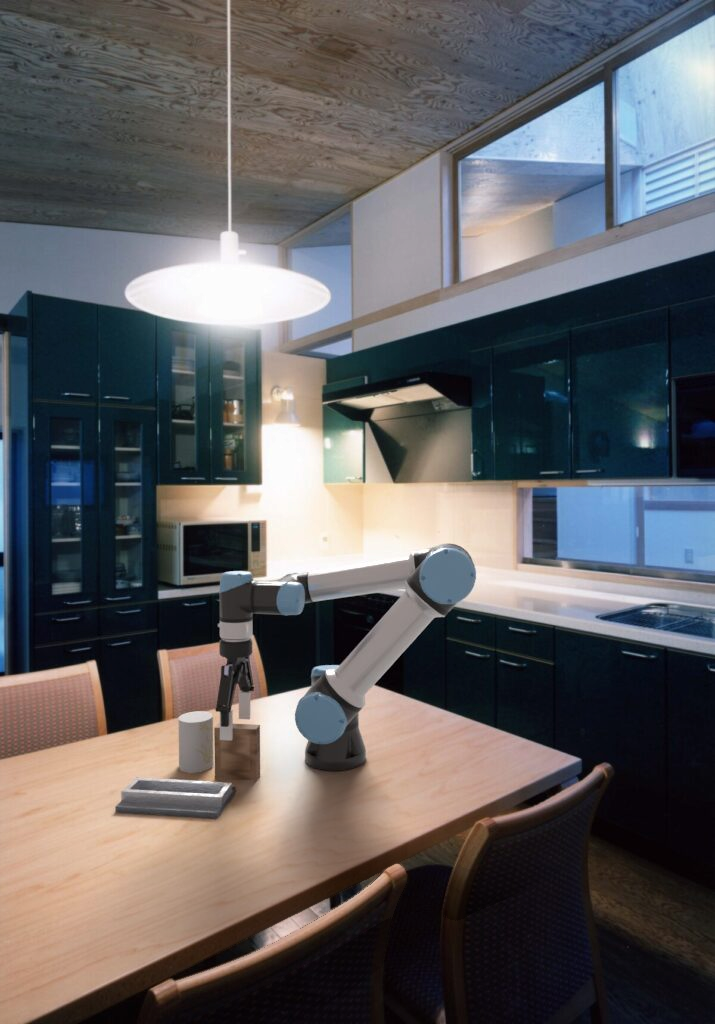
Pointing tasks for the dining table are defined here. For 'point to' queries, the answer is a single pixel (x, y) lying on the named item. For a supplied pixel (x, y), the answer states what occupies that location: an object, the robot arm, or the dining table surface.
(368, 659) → the robot arm
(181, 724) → the yellow-veined white cylinder
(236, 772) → the door panel
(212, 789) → the track
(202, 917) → the dining table surface
